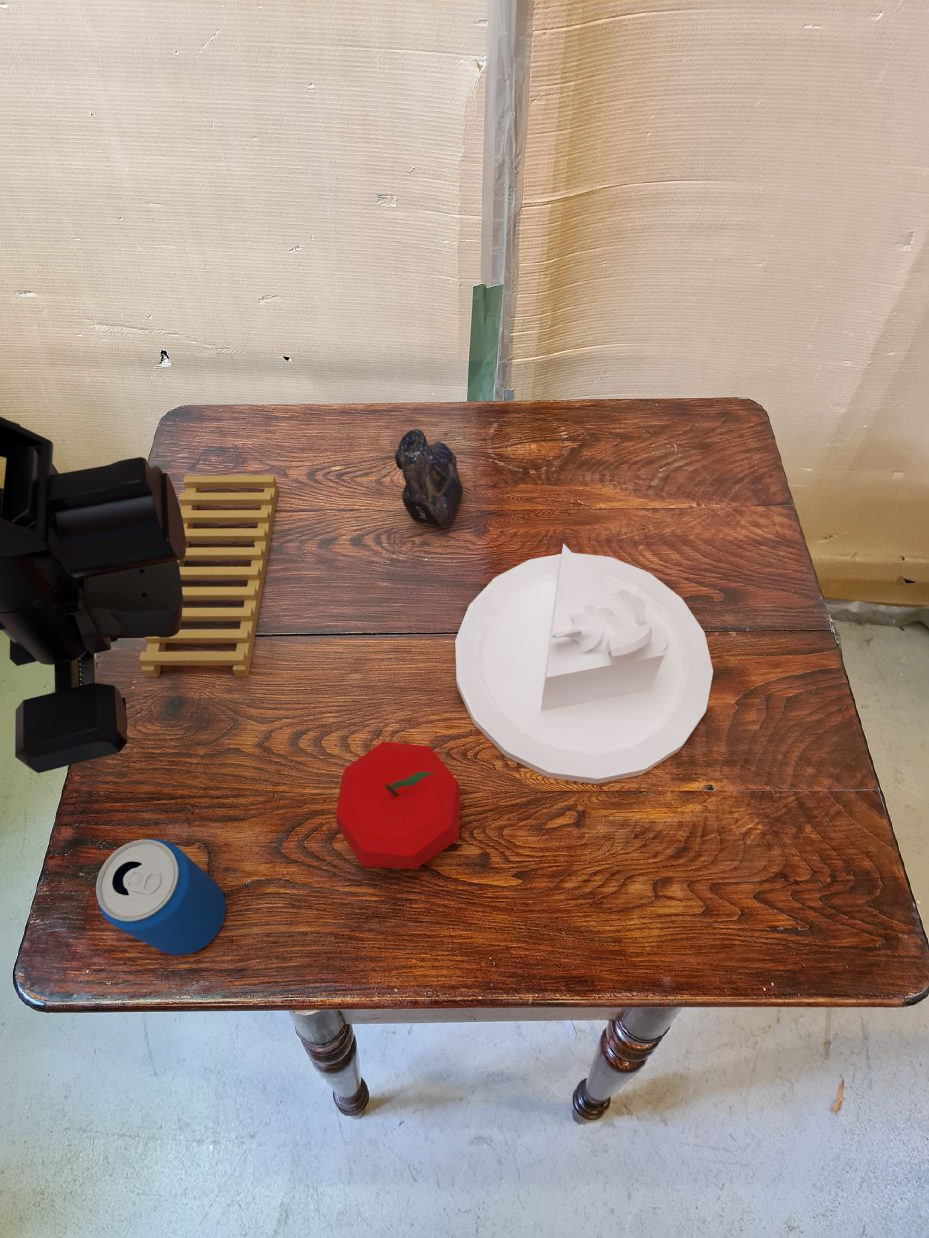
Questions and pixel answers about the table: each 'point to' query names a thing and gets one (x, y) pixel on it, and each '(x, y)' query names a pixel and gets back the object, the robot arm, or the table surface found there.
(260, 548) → the rack
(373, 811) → the apple
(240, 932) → the table surface
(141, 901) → the beverage can
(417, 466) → the statue
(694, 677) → the dish
